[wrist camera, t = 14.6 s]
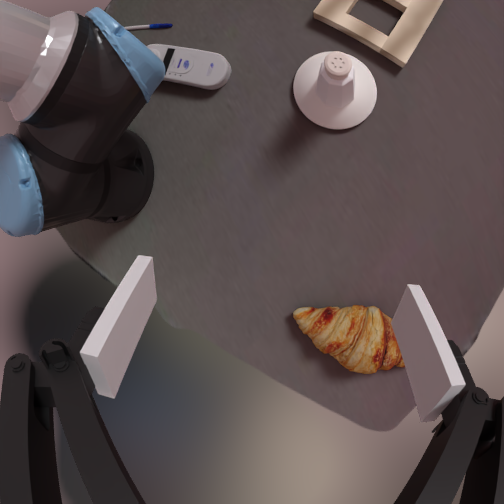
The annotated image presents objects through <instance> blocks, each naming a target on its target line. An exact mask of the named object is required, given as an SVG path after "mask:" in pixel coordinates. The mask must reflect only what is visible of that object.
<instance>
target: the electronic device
mask: <svg viewBox="0 0 504 504" xmlns="http://www.w3.org/2000/svg"><path fill="white" fill-rule="evenodd" d="M146 47H147V48H149V49H150V50H151V51H152V52H153V53H154V54H155V55H156V56H157V57H159V58H160V59H161V60H162V62H163V63H164V65H165V76H164V78H163V80H165V81H170V82H175V83H181V84H186V85H190V86H195V87H200V88H204V89H209V90H214V89H218V88H220V87H222V86H223V85H225V84H226V82H227V81H228V79H229V77H230V74H231V66H230V64H229V62H228V61H227V60H226V59H225V58H224V57H223V56H222V55H220V54H218V53H214V52H208V51H202V50H197V49H190V48H184V47H177V46H169V45H161V44H151V45H148V46H146Z"/></svg>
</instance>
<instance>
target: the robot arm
mask: <svg viewBox="0 0 504 504" xmlns="http://www.w3.org/2000/svg"><path fill="white" fill-rule="evenodd" d="M164 76H165V65H164V63H163V62H162V60H161V59H160V58H159V57H157V56H156V55H155V54H154V53H153V52H152V51H151V50H150V49H149V48H147V47H146V46H145V45H144V44H143V43H142V42H141V41H139V40H138V39H137V38H136V37H135V36H133V35H132V34H131V33H130V32H129V31H127V30H126V29H125V28H124V27H123V26H121V25H120V24H119V23H118V22H117V21H115V20H114V19H113V18H112V17H111V16H109V15H108V14H107V13H106V12H104V11H103V10H102V9H100V8H98V7H95V8H93V9H92V10H91V11H89V12H87V13H86V14H85V17H83V16H81V15H79V14H77V13H75V12H73V11H66V12H64V13H61V14H58V15H56V16H53V17H51V18H49V17H45V16H42V15H40V14H38V13H35V12H33V11H30V10H28V9H25V8H23V7H20V6H18V5H15V4H13V3H10V2H7V1H4V0H0V100H1V101H5V102H7V103H8V105H9V108H10V110H11V113H12V115H13V118H14V119H15V120H16V121H18V122H21V123H20V125H19V127H18V129H17V131H16V133H15V134H14V135H12V134H5V135H4V136H1V137H0V228H1V229H2V230H3V231H4V232H5V233H7V234H9V235H11V236H15V237H21V236H25V235H31V234H33V235H37V234H39V233H40V232H42V231H45V230H49V229H52V228H55V227H58V226H62V225H65V224H69V223H72V222H76V221H79V220H83V219H91V220H96V221H100V222H104V223H115V222H120V221H123V220H126V219H129V218H131V217H133V216H134V215H136V214H137V213H138V212H139V211H140V210H141V209H142V208H143V206H144V205H145V204H146V202H147V200H148V198H149V196H150V193H151V190H152V186H153V180H154V166H153V160H152V157H151V154H150V151H149V149H148V147H147V145H146V144H145V142H144V141H143V140H142V139H141V138H140V137H139V136H138V135H137V134H135V133H134V132H132V131H130V130H127V128H128V126H129V125H130V124H131V122H132V121H133V119H134V118H135V117H136V116H137V114H138V113H139V112H140V110H141V109H142V108H143V106H144V105H145V104H146V103H148V102H149V100H150V96H151V95H152V94H153V92H154V91H155V90H156V88H157V87H158V86H159V84H160V83H161V82H162V80H163V78H164ZM156 301H157V295H156V287H155V277H154V268H153V257H149V256H141V255H138V257H137V258H136V260H135V261H134V263H133V264H132V266H131V267H130V269H129V271H128V272H127V274H126V275H125V277H124V278H123V280H122V282H121V283H120V285H119V286H118V288H117V290H116V291H115V293H114V294H113V296H112V298H111V299H110V301H109V303H108V304H107V306H106V308H101V307H94V308H93V309H91V310H90V311H89V312H88V313H86V315H85V317H84V318H83V320H82V323H80V325H79V327H78V329H76V331H75V333H74V334H73V336H72V338H71V339H70V341H69V343H67V342H66V341H64V340H63V339H51V340H49V341H47V342H46V343H44V344H43V345H42V347H41V349H40V351H39V357H40V359H41V360H42V362H31V360H30V359H29V357H28V356H27V355H25V354H21V353H19V354H15V355H13V356H11V357H10V358H9V359H8V360H7V362H6V365H5V368H4V375H3V384H2V392H1V401H0V504H62V500H61V493H60V487H59V481H58V472H57V464H56V452H55V441H54V422H53V407H57V411H58V414H59V417H60V421H61V424H62V426H63V430H64V433H65V436H66V438H67V441H68V444H69V447H70V450H71V452H72V455H73V457H74V460H75V463H76V465H77V467H78V470H79V472H80V475H81V477H82V479H83V482H84V484H85V486H86V488H87V490H88V493H89V495H90V497H91V499H92V501H93V503H94V504H146V503H145V501H144V500H143V498H142V496H141V495H140V493H139V491H138V490H137V488H136V486H135V484H134V483H133V481H132V479H131V477H130V475H129V473H128V471H127V470H126V468H125V466H124V464H123V462H122V460H121V458H120V456H119V454H118V452H117V450H116V448H115V446H114V444H113V442H112V439H111V437H110V435H109V433H108V431H107V429H106V426H105V424H104V422H103V420H102V417H101V415H100V413H99V410H98V408H97V405H96V403H95V400H94V398H93V396H92V392H93V390H94V388H96V390H97V392H98V394H100V395H103V396H107V397H110V398H115V396H116V393H117V391H118V389H119V386H120V384H121V381H122V379H123V376H124V374H125V371H126V369H127V367H128V364H129V362H130V360H131V357H132V355H133V352H134V350H135V348H136V345H137V343H138V340H139V339H140V336H141V334H142V332H143V329H144V327H145V325H146V323H147V320H148V318H149V316H150V313H151V311H152V309H153V307H154V305H155V303H156ZM391 325H392V328H393V331H394V334H395V337H396V340H397V343H398V346H399V349H400V352H401V355H402V358H403V361H404V364H405V367H406V371H407V374H408V377H409V381H410V384H411V387H412V391H413V394H414V398H415V402H416V405H417V409H418V413H419V416H420V420H421V422H427V421H435V420H436V419H437V417H438V416H439V415H440V414H442V417H443V420H442V421H441V422H440V423H439V424H438V425H437V426H436V427H435V428H434V430H433V431H432V433H433V432H435V431H436V432H435V434H434V436H433V438H432V440H431V442H430V444H429V446H428V447H427V449H426V451H425V453H424V455H423V457H422V459H421V460H420V462H419V464H418V466H417V467H416V469H415V471H414V473H413V474H412V476H411V478H410V479H409V481H408V483H407V484H406V486H405V487H404V489H403V491H402V492H401V493H400V495H399V497H398V498H397V499H396V501H395V503H394V504H451V503H452V501H453V499H454V497H455V495H456V493H457V491H458V489H459V487H460V484H461V482H462V480H463V477H464V475H465V473H466V476H465V480H464V485H463V490H462V494H461V499H460V503H459V504H504V397H503V398H502V399H501V400H496V399H491V398H489V396H488V394H487V393H486V392H485V391H484V390H483V389H481V388H479V387H476V386H475V383H474V381H473V379H472V377H471V374H470V372H469V369H468V367H467V365H466V364H465V360H464V358H463V357H462V354H461V351H460V349H459V347H458V346H457V345H456V344H455V343H454V342H453V341H452V340H447V339H446V337H445V335H444V333H443V331H442V329H441V327H440V324H439V322H438V320H437V318H436V316H435V314H434V312H433V310H432V308H431V306H430V304H429V302H428V300H427V298H426V296H425V295H424V293H423V291H422V289H421V287H420V285H410V284H408V285H407V287H406V289H405V292H404V294H403V297H402V299H401V301H400V304H399V306H398V308H397V310H396V313H395V315H394V317H393V319H392V321H391Z"/></svg>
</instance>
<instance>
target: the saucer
mask: <svg viewBox="0 0 504 504" xmlns="http://www.w3.org/2000/svg"><path fill="white" fill-rule="evenodd" d="M329 53H331V52H323V53H319V54H317V55H314V56H312V57H311V58H309V59H308V60H306V61H305V62H304V63H303V64H302V65H301V66H300V68H299V69H298V71H297V73H296V75H295V79H294V84H293V91H294V97H295V100H296V102H297V104H298V106H299V108H300V110H301V111H302V113H303V114H304V115H305V116H306V117H307V118H308V119H309V120H311V121H312V122H314V123H315V124H317V125H319V126H322V127H324V128H328V129H335V130H341V129H347V128H351V127H354V126H356V125H358V124H360V123H361V122H363V121H364V120H365V119H366V118H367V117H368V116H369V114H370V113H371V112H372V110H373V108H374V106H375V103H376V98H377V89H376V84H375V80H374V78H373V76H372V74H371V72H370V71H369V70H368V68H367V67H366V66H365V65H364V64H363V63H362V62H361V61H359V60H358V59H356V58H354V57H352V56H350V55H348V54H346V55H348V57H349V58H350V59H351V61H352V66H353V67H354V72H355V93H354V100H352V101H351V102H350V103H348V104H347V105H345V106H344V107H342V108H338V107H333V106H326V105H325V104H324V103H323V102H322V100H321V99H320V98H319V97H318V96H317V94H316V85H317V78H318V74H319V71H320V67H321V64H322V62H323V61H324V59H325V57H326V56H327V55H328V54H329Z"/></svg>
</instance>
